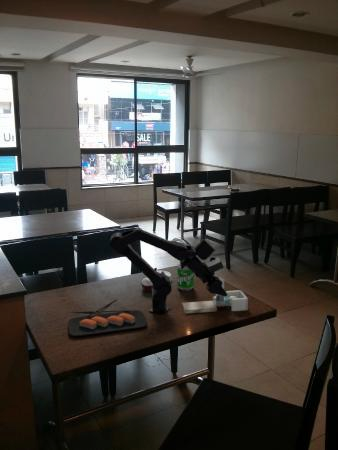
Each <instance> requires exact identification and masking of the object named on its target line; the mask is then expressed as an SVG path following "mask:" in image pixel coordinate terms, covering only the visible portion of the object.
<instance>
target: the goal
mask: <svg viewBox="0 0 338 450" xmlns="http://www.w3.org/2000/svg"><path fill="white" fill-rule="evenodd" d="M225 292H226V293H227V294H228V295H227V296H228V298H229V297H230V296H235V297H237V299H232V307H231V308H230V309H231V312H240V311H248V308H249V306H248V305H249V298H248V297H247V296H246V294H245V293H244V292H243V291H242V290H239V289H237V290H227V291H226V290H225Z"/></svg>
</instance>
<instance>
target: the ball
mask: <svg viewBox="0 0 338 450" xmlns="http://www.w3.org/2000/svg"><path fill="white" fill-rule="evenodd" d="M229 299H230V306H229V307H231V308H232V299H237V297H235V296H230V297H229Z"/></svg>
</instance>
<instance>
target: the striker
mask: <svg viewBox="0 0 338 450" xmlns="http://www.w3.org/2000/svg"><path fill="white" fill-rule="evenodd" d="M218 278H219V279H220V280H221V281H222V282H223V284H222V287H223V289H224V290H225V278H223V277H218ZM212 301H213V302H214V304H215V306H216V307H222V306H227V307H228V306H229V307H231V306H230V299H229V298H228V296H222V295H219V294H215V295H214V296H212Z"/></svg>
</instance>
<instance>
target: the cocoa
mask: <svg viewBox="0 0 338 450" xmlns="http://www.w3.org/2000/svg"><path fill="white" fill-rule="evenodd" d="M153 269H154V270H155V271H157V270H158V267H155V268H154V267H153ZM140 284H141V288H142V290H143V291H144V292H146V293H152V287H153V284H152V282H151V281H150V279H148V278H147V277H144V278H143V279H142V280H141V282H140Z"/></svg>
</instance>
